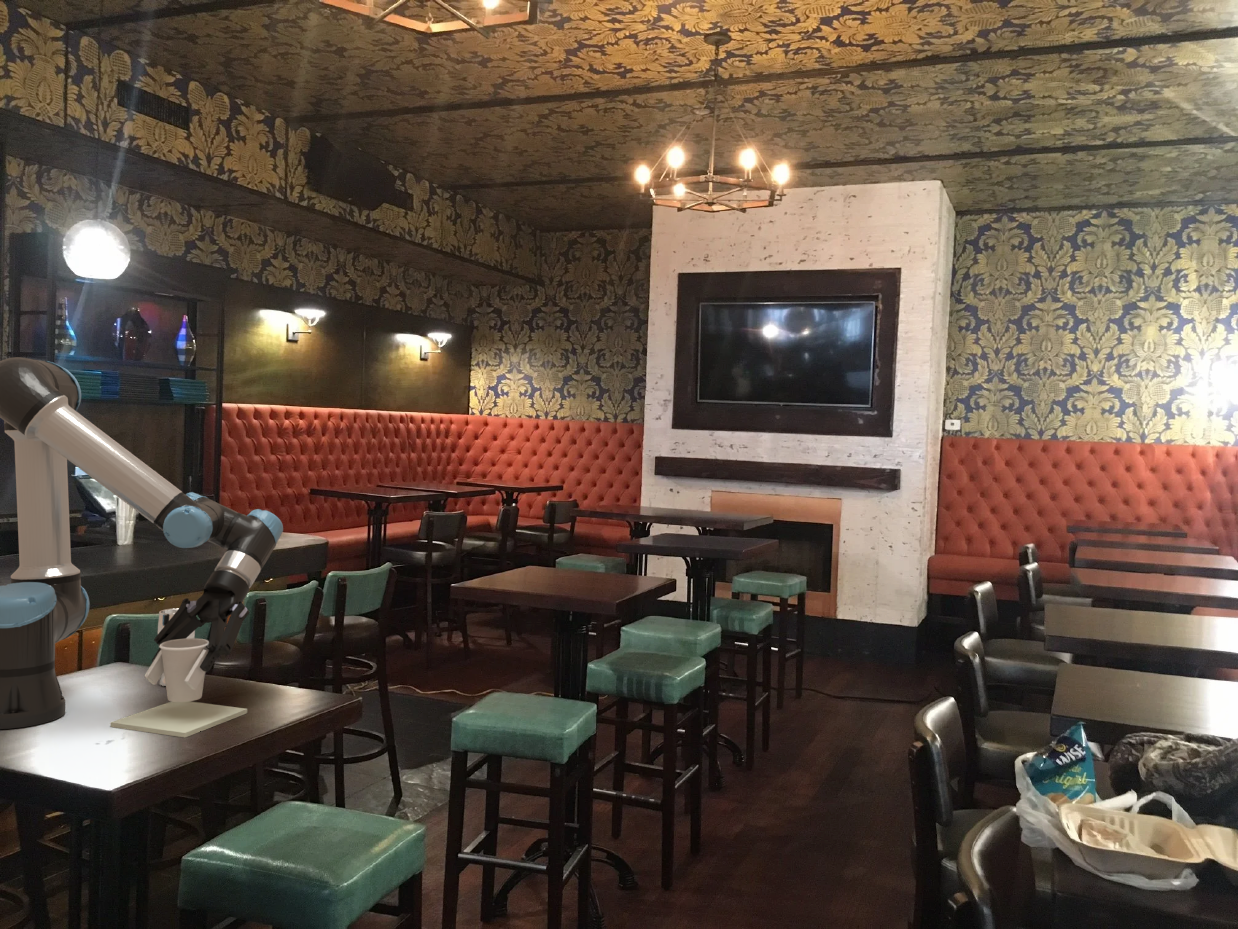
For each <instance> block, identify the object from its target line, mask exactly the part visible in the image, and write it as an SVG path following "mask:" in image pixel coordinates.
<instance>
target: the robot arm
mask: <svg viewBox="0 0 1238 929" xmlns="http://www.w3.org/2000/svg"><path fill="white" fill-rule="evenodd" d="M81 402H82V391H81V386H80V383H79V382H78V380H77V378H76V377H75V375H74V374H72V373H71V372H70V370H68V369H67V368H65V367H63V366H61V365H59V364H57V363H55V362H52V361H49V360H40V359H32V358H27V357H21V356H20V357H19V356H17V357H8V358H5V359H2V360H0V419H1V420H3V426H4V427H3V428H4V433H5V434H7V436H8V437H10V438H11V439H12V441H13V442H14V463H15V466H14V467H15V482H16V483H15V488H16V489H15V490H16V510H17V511H16V512H17V532H18V534H17V535H18V536H17V537H18V555H19V566H18V567H17V569H16V570H15V571H14V572H13V573H12V574H11V575H10V583H8V584H6V585H0V730H9V729H19V728H25V727H31V726H37V725H41V724H45V723H49V722H52V721H55V720H57V719H59V718H61V717H63V716H64V715H65V714H66V699H65V696H63V693H62V688H61V685H60V682H59V680H58V677H57V674H56V670H55V669H56V668H55V666H56V664H55V661H56V644H57V643H59V642H60V641H63V640H65V639H68V638H69V637H71V636H72V635H73V634H75V633H76V632H77V631H78V630H79V629H80V628H81V626H82V625H83V624H84V623H85V621H87V618H88V615H89V612H90V606H91V604H90V598H89V595H88V593H87V590H86V589H85V588H84V587H83V586H82V581H81V580H82V579H81V569H79V568H78V567H77V566H75V564H73V563H72V554H71V553H72V552H71V550H72V548H71V530H70V529H71V528H70V527H71V526H70V524H71V523H70V505H69V504H70V503H69V501H70V500H69V478H68V477H69V476H68V474H69V473H68V462H70V463H71V464H73V466H75V467H77V468H78V469H79V470H81V471H82V472H83V473H84V474H86V475H88V476H89V477H90V478H92V479H93V480H95V481H96V482H97V483H98V484H100V485H101V486H102V487H104V488H105V489H106V490H108V491H109V492H110V493H112V494H113V495H114V496H116V497H117V498H119V499H120V500H121V501H122V502H124V504H126V505H128V506H129V507H131V508H132V509H133V510H135V511H136V512H137V513H138V514H140V515H141V516H142V517H144V518H145V519H147V520H148V521H149V522H151V523H152V524H153V525H155V526H156V527H158V529H160V530H161V531H162V532H163V534H164V537H165V539H166V540H167V541H168V543H170V544H171V545H173V546H175V547H176V548H181V549H189V548H197V547H200V546H201V545H203V544H204V543H206V542H209V543H211V544H214V545H215V546H218V547H220V548H222V549H226V551H225V552H224V554H223V555H222V557H221V558H220V560H219V562H218V563H217V565H216V566H215V568H214V571H212V573H211V574H210V576H209V578H208V579H207V581H206V583H205V584H204V586H203V593H202V595H201V596H199V597H198V598H197V599H196V600H190V599H189V598H187V597H186V598H184V599H182V602H181V604H180V606H179V609H178V611H177V612H176V613H175V614H174V615H173V617H172V618H171V619H170V620H169V621H168V623H167V624H166V625H165V626H164V628H163V629H162V630H161V631H160V632H159V634H158V633H157V635H156V636H154V640H153V641H154V642H155V643H156V644H157V645H158V649H157V651H156V653H155V654H154V656H153V658H152V660H151V662H152V663H151V664H150V666H149V667H148V669H147V671H146V672H145V675H144V678H145V679H146V680H147V681H148V682H149V683H150V684H151V685H152V686H153V685H155V686H156V685H157V684H158V681H160V678H161V675H162V673H163V672H164V667H163V660H162V652H161V648H159V646H160V644H161V643H163V642H166V641H170V640H176V639H186V638H187V637H188V636H189V635H190V634H191V633H192V632H193V631H194V630H195V631H196V630H197V629H199V628H201V627H203V626H204V625H206V624H209V623H211V628H210V633H209V638H208V639H209V640H208V641H209V645H208V647H207V646H206V647H207V649H208V651H207V650H202V652H201V654H200V655H199V657H198V659H197V660H196V662H195V664H194V666H193V667H192V669H191V671H190V672H189V674H188V676H187V677H186V679H185V682H186V683H187V684H188V685H189V686H190V688H191V689H195V690H196V688H197V686H198V684H199V683H200V681H201V679H202V678H203V676H204V674H205V675H206V673H207V672H209V671H210V670H211V668H212V667H213V665H214V664H215V661H216V660H217V658H219V657H221V656H223V655H224V656H225V657H226V656H229V655H230V654H231V652H232V650H233V648H234V645H235V642H236V640H237V639H238V638H237V637H238V636H239V632H240V631H241V627H242V625H243V623H244V621H245V620H246V618H247V617H248V615H249V614H250V611H249V609H248V608H247V607H246V606H245V604H244V603H243V602H244V600H245V598H246V597H247V595H248V593H249V592H250V588H251V587H252V586H253V584H254V583H255V581H256V579H257V578H258V577H259V574H260V573H261V571H262V569H263V568H264V566H265V564H266V563H267V561H268V560H269V558H270V557H271V554H272V553H273V551H274V549H276V546H277V544H278V541H279V540H280V538H281V536H282V534H283V533H284V526H283V523H282V520H281V519H280V518H279V517H278V516H277V515H275V513H272V512H271V511H269V510H267V509H265V510H263V509H260V508H257V509H254V510H253V509H252V510H251V511H250V512H249V513H248V514H247V515H246V514H243V513H240V512H237V511H236V510H234V509H232V508H229V507H227V506H225V505H222V504H220V503H218V502H216V501H214V500H212V499H210V498H209V497H207V496H203V495H200V494H199V493H195V492H193V491H191V492H187V493H186V494H185V493H184V492H183V491H182V490H181V489H179V488H178V487H177V486H175V485H174V484H173V483H171V482H170V481H169V480H168V479H166V478H164V477H163V476H162V475H160V474H159V473H158V472H157V471H156V470H154V469H153V468H151V467H150V465H148V464H146V463H145V462H143V461H142V459H140V458H138V457H137V456H135V455H134V454H133V453H132V452H131V451H129V450H128V449H126V448H125V447H124V446H123V445H121V444H120V443H119V442H117V441H116V440H114V438H112V437H110V436H109V435H108V434H107V433H105V432H104V431H103V430H101V429H100V428H99V427H97V426H96V425H95V424H93V423H92V422H91V421H90V420H89V419H87V418H85V417H84V416H83V415H82V414H81V413H79V412H78V409H79V407H80V406H81V405H80V404H81ZM204 677H205V676H204Z"/></svg>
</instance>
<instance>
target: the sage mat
mask: <svg viewBox="0 0 1238 929" xmlns="http://www.w3.org/2000/svg"><path fill="white" fill-rule="evenodd" d="M245 714H248V708H243V707H234V706H227V705H220V704H214V703H213V704H212V703H205V702H197V701H188V702H171V701H168V702H166V703H164V704H160V705H157V706H154V707H151V708H149V709H146V710H143V711H140V712H137V713H134V714H131V715H128V716H125V717H121V718H119V719H115V720H113V721H110V723H109V724H110V726H109V727H110V728H116V729H123V730H129V731H138V732H144V733H150V734H158V735H165V736H171V737H177V738H178V737H179V738H188V737H190V736H193V735H196V734H198V733H200V731H201V732H203V731H205V730H208V729H210V728H212V727H215V726H218V725H220V724H223V723H226V722H229V721H232V720H234V719H236V718H238V717H241V716H244V715H245Z"/></svg>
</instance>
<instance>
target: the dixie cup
mask: <svg viewBox="0 0 1238 929" xmlns="http://www.w3.org/2000/svg"><path fill="white" fill-rule="evenodd" d="M208 645H209V640H208V639H205V638H204V639H203V638H197V637H194V638H187V639H176V640H170V641H166V642H163V643H161V644H160V646H159V645H158V648H159V647H160V648H161V652H162V660H163V667H164V675H165V683H166V687H165V688H166V695H167V696H166V697H167V701H168V702H188V701H191V702H195V701H197V700H200V699H202V697H203V689H204V681H205V676H206V673H205V674H204V676H203V678H202V679H201V681H200V683H199V684H198V686H197V688H196V690H195V689H191V688H190V686H189V685H188V684H187V683H186V682H185V679H186V677H187V676H188V674H189V672H190V671H191V669H192V667H193V666H194V664H195V662H196V660H197V659H198V657H199V655H200V654H201V652H202V650H207V651H209V650H208V649H207V647H208ZM206 646H207V647H206Z"/></svg>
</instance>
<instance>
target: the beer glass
mask: <svg viewBox="0 0 1238 929" xmlns="http://www.w3.org/2000/svg"><path fill="white" fill-rule="evenodd" d="M179 608H180V607H179ZM179 608H178V607H177V608H167V609H163V610H160V611H159V612H158V622H157V635H158V634H159V632H160V631H161V630H162V629H163V628H164V626H165V625H166V624H167V623H168V621H169V620H170V619H171V618H172V617H173V615H174V614H175V613H176V612H177V611H178V609H179ZM195 634H196V630H194V631H193V632H192V633H191V634H190V635H189V636H188V637H187V638H196V637H195ZM187 638H186V639H187ZM159 648H160V647H159V646H158V649H159ZM161 685H162V686H161ZM159 686H161V687H164V686H166V683H165V675H164V672H163V673H162V675H161V677H160V678H159Z"/></svg>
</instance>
